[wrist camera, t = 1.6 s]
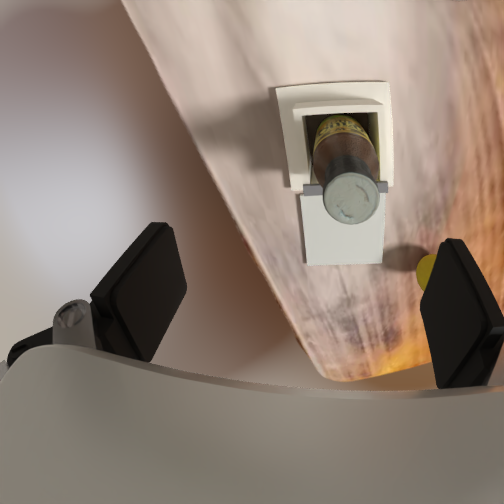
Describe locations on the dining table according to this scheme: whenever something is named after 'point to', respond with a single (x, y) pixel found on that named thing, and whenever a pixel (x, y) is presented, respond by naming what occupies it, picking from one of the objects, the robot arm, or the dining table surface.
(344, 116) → the sauce bottle
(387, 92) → the caddy
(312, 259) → the mat
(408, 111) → the dining table surface
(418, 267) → the lemon
